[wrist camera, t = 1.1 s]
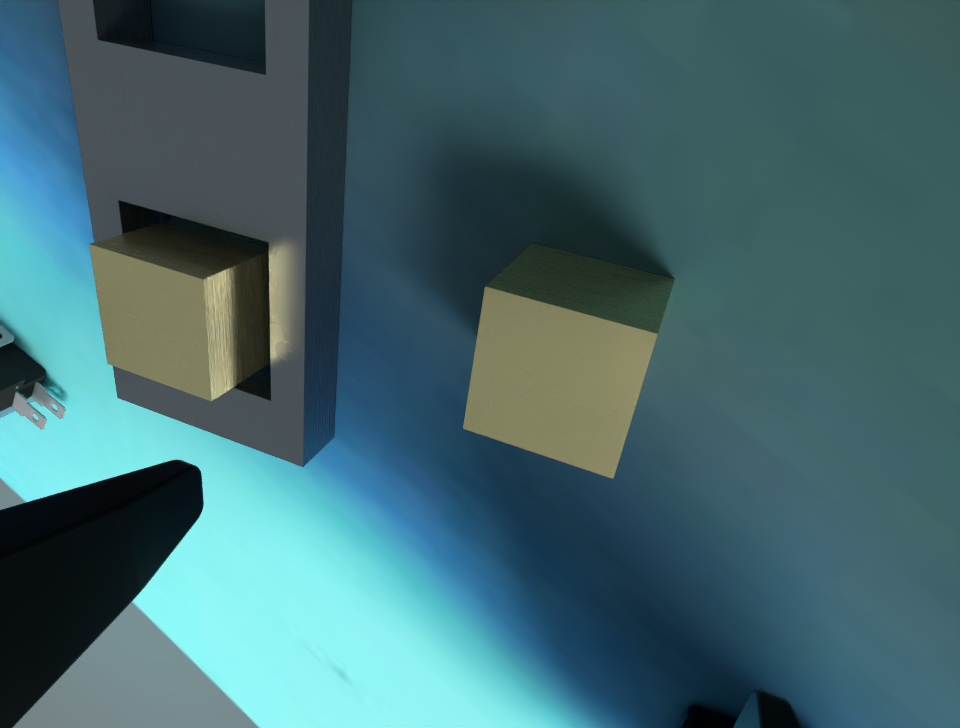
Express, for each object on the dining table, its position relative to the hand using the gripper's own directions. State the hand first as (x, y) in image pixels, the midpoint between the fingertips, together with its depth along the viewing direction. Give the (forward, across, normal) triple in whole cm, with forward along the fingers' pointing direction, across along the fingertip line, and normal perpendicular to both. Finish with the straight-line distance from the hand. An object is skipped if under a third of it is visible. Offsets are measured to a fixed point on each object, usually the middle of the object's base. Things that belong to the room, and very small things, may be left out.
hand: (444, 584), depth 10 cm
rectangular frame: (+10, +12, -3) cm, 16 cm away
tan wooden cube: (+11, +12, +2) cm, 16 cm away
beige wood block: (+11, 0, 0) cm, 11 cm away
